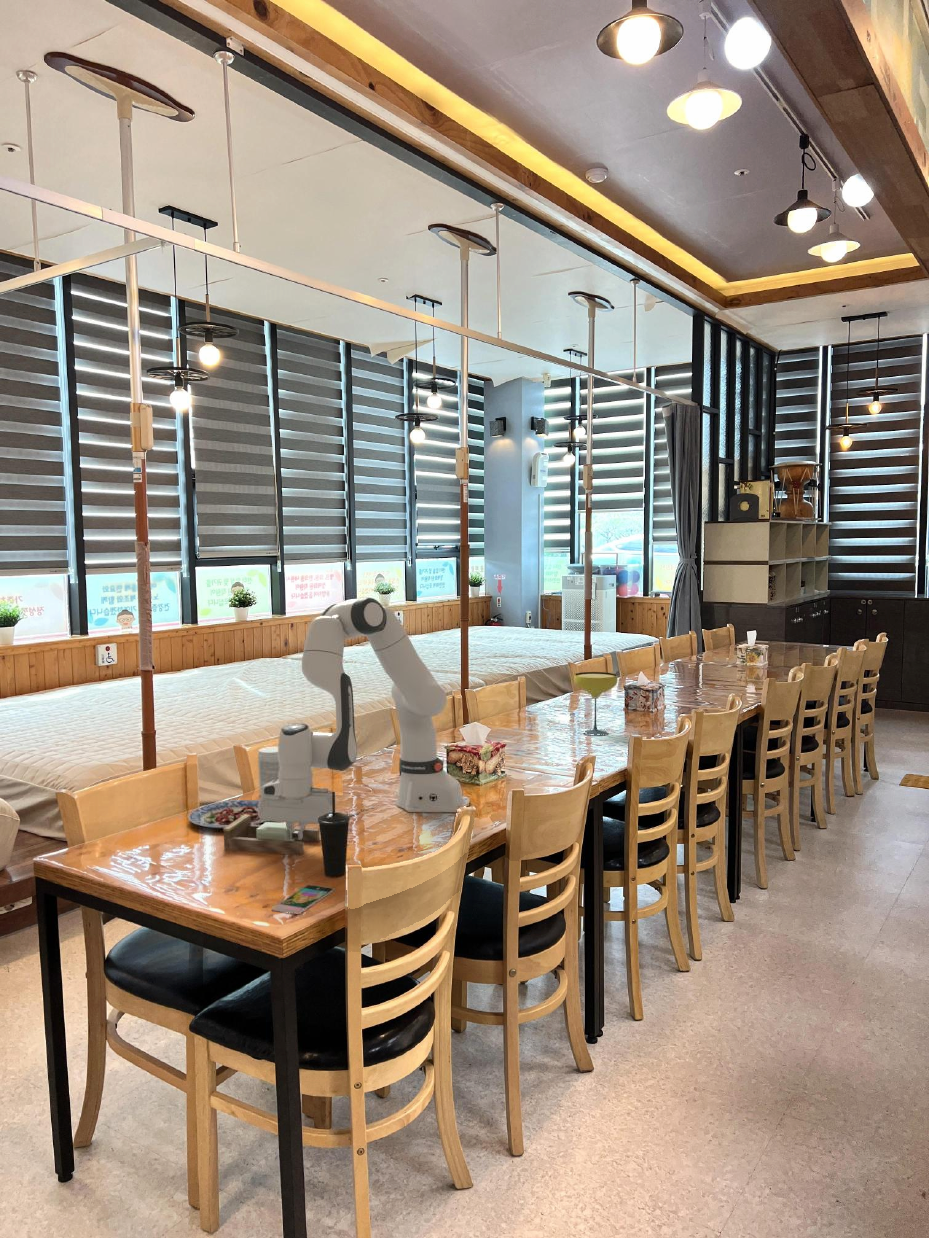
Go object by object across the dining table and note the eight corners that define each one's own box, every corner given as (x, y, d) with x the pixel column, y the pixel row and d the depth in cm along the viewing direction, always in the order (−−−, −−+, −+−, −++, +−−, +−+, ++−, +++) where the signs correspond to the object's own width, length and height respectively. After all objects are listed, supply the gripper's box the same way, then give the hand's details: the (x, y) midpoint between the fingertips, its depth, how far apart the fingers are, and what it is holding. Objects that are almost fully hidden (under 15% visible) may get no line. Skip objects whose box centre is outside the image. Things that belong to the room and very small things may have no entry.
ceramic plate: (282, 804, 265) (282, 795, 265) (278, 831, 239) (278, 821, 239) (195, 809, 261) (195, 799, 260) (182, 836, 235) (181, 825, 235)
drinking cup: (320, 868, 211) (318, 788, 209) (351, 867, 211) (350, 787, 210) (317, 880, 203) (315, 797, 201) (350, 879, 204) (348, 796, 202)
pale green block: (294, 841, 230) (294, 823, 230) (285, 849, 224) (284, 831, 223) (266, 839, 232) (266, 821, 231) (256, 848, 225) (255, 829, 225)
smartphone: (335, 888, 197) (299, 913, 184) (335, 891, 198) (299, 917, 184) (308, 884, 200) (270, 908, 186) (308, 887, 200) (271, 911, 186)
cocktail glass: (593, 727, 378) (594, 670, 376) (625, 733, 364) (626, 675, 362) (564, 732, 367) (565, 674, 365) (597, 739, 353) (597, 679, 351)
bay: (319, 839, 232) (319, 819, 231) (301, 855, 220) (300, 833, 219) (245, 834, 236) (245, 814, 236) (224, 849, 224) (223, 828, 224)
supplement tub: (294, 795, 274) (293, 750, 273) (265, 800, 269) (264, 754, 267) (282, 788, 282) (282, 744, 281) (254, 793, 277) (253, 748, 276)
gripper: (337, 785, 226) (338, 837, 227) (265, 781, 230) (266, 832, 231) (328, 792, 220) (329, 845, 221) (254, 787, 224) (255, 839, 225)
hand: (296, 838), depth 226 cm, fingers closed
